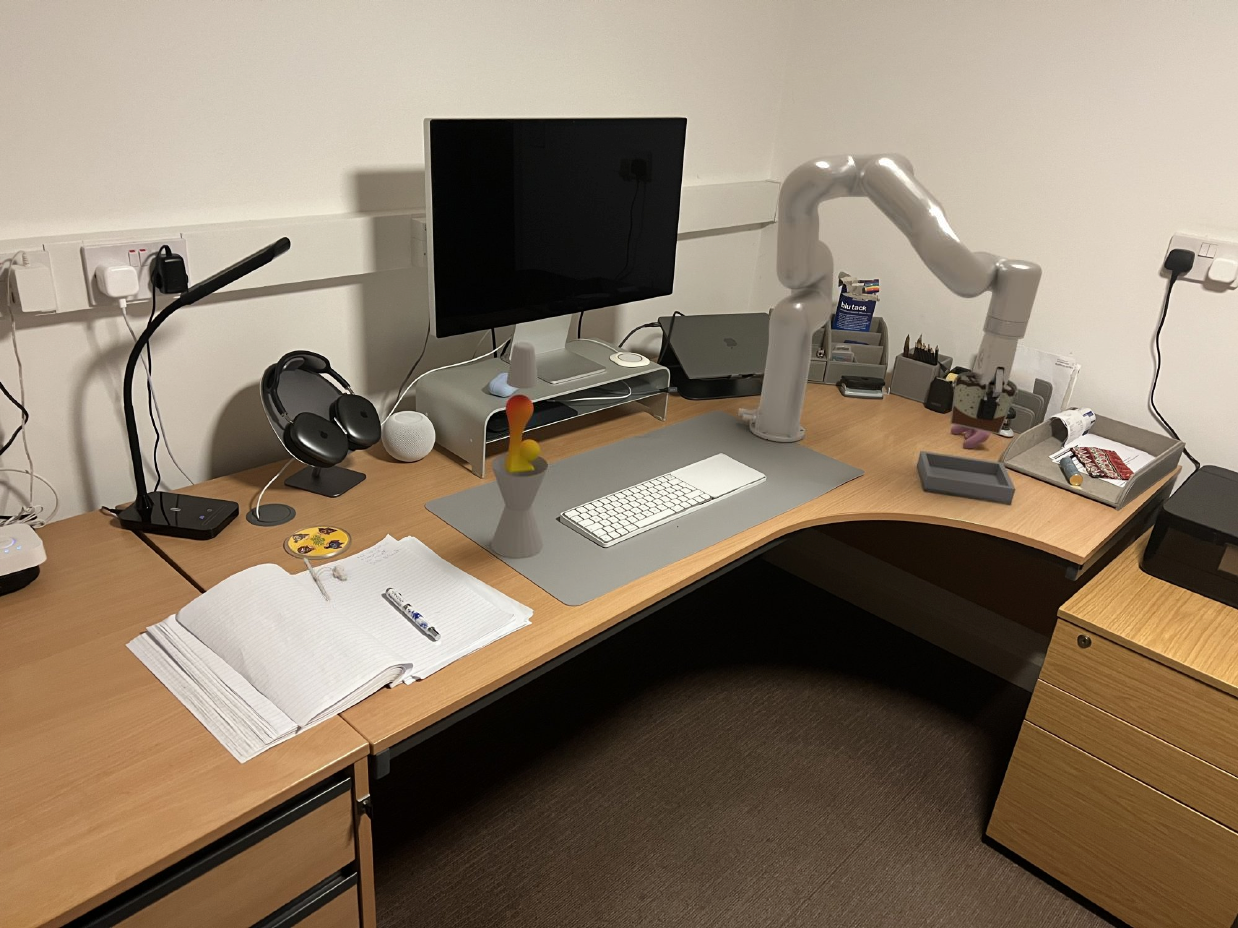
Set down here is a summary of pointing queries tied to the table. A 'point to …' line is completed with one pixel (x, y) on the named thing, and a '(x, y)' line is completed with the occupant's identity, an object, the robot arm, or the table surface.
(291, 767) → the table surface
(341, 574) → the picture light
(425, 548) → the table surface
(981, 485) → the desk holder
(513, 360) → the lava lamp
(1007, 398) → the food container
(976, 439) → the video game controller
